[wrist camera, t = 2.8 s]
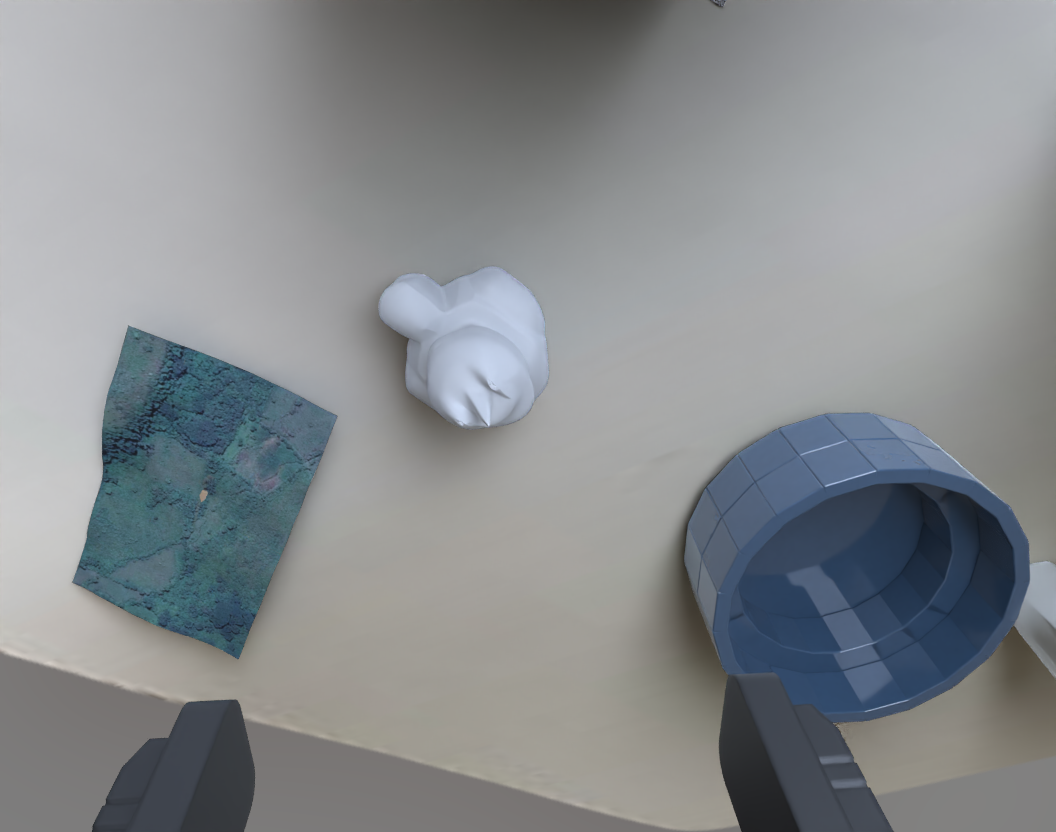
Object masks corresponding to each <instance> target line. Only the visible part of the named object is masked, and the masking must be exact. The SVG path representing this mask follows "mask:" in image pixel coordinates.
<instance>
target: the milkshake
mask: <svg viewBox="0 0 1056 832" xmlns="http://www.w3.org/2000/svg"><path fill="white" fill-rule="evenodd" d="M1014 627H1015V628H1016V629H1017V630H1018V632H1019V633H1020V634H1021V636H1022V637H1023V638H1024V639H1025V641H1026V642H1027V643H1028V644H1029V646H1030V647H1031V648H1032V650H1033V651H1034V652H1035V653H1036V655H1037V656H1038V657H1039V658H1040V660H1041V661H1042V662H1043V664H1044V665H1045V666H1046V667H1047V669H1048V670H1049V671H1050V672H1051V674H1052V675H1053V676H1054V678H1055V679H1056V564H1054V563H1051V562H1049V561H1042V562H1036V563H1030V584H1029V587H1028V590H1027V593H1026V596H1025V599H1024V601H1023V604H1022V607H1021V610H1020V613H1019V616H1018V619H1017V620H1016V623H1015V624H1014Z"/></svg>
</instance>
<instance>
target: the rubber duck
mask: <svg viewBox="0 0 1056 832" xmlns="http://www.w3.org/2000/svg"><path fill="white" fill-rule="evenodd" d="M379 315H380V318H381V320H382V321H383V322H384V323H385V324H386V325H388V326H389V327H391V328H392V329H393V330H395V331H397V332H398V333H400V334H401V335H403V336H405V337H407V338H409V342H408V346H407V362H406V370H405V381H406V387H407V390H408V391H409V392H410V393H411V394H412V395H413V396H415V397H416V398H418V399H419V400H421V401H422V402H424V403H425V404H427V405H428V406H430V407H431V408H433V409H434V410H436V411H437V412H438V413H439V414H440V415H441V416H442V417H443V418H444V419H446V420H447V421H448V422H450V423H452V424H454V425H456V426H458V427H461V428H464V429H471V430H474V429H482V428H490V427H498V426H504V425H508V424H511V423H514V422H516V421H518V420H520V419H521V418H523V417H524V416H525V415H526V414H527V413H528V412H529V411H530V409H531V407H532V405H533V402H534V400H535V399H536V398H537V397H538V396H539V395H540V394H541V393H542V391H543V390H544V389H545V387H546V385H547V383H548V378H549V365H548V352H547V343H546V337H545V320H544V316H543V312H542V310H541V307H540V305H539V303H538V301H537V300H536V298H535V296H534V295H533V294H532V292H531V291H530V290H529V289H528V288H527V287H526V286H525V285H523V284H522V283H521V282H519V281H518V280H517V279H515V278H514V277H513V276H511V275H510V274H509V273H508V272H506V271H505V270H503V269H501V268H499V267H495V266H490V267H485V268H482V269H480V270H478V271H476V272H474V273H472V274H470V275H464V276H461V277H459V278H457V279H455V280H453V281H451V282H449V283H448V284H446V285H444V286H440V285H439V284H438V283H436V282H435V281H434V280H433V279H431V278H429V277H428V276H426V275H423V274H418V273H410V274H405V275H402V276H400V277H398V278H397V279H396V280H395V281H394V282H393V284H391V285H390V286H388V287H387V288H386V289H385V290H384V291H383V293H382V295H381V297H380V301H379Z"/></svg>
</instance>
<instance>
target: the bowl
mask: <svg viewBox="0 0 1056 832" xmlns="http://www.w3.org/2000/svg"><path fill="white" fill-rule="evenodd" d="M684 561H685V562H684V563H685V567H686V570H687V573H688V577H689V580H690V584H691V587H692V591H693V594H694V596H695V599H696V602H697V604H698V607H699V609H700V612H701V614H702V617H703V620H704V622H705V625H706V627H707V630H708V632H709V635H710V638H711V640H712V643H713V645H714V648H715V650H716V653H717V656H718V658H719V661H720V663H721V666H722V668H723V669H724V671H725V672H726V673H727V674H728V675H733V674H752V673H771V672H774V673H776V674H777V675H778V676H779V678H780V679H781V681H782V683H783V685H784V687H785V689H786V691H787V693H788V696H789V698H790V700H791V702H792V704H793V705H801V704H813V705H814V706H815V707H816V708H817V709H818V710H819V711H820V712H821V713H822V714H823V715H824V716H825V717H826V718H828V719H829V720H830V721H831V722H832V723H839V722H862V721H870V720H873V719H877V718H881V717H884V716H888V715H892V714H896V713H899V712H903V711H907V710H910V709H912V708H914V707H916V706H918V705H920V704H922V703H924V702H926V701H928V700H930V699H932V698H934V697H936V696H938V695H940V694H942V693H944V692H946V691H948V690H950V689H952V688H953V686H956V685H957V684H958V683H959V682H961V681H962V680H963V679H964V678H965V677H967V676H968V675H969V674H970V673H972V672H973V671H974V670H975V669H976V668H978V667H979V666H980V665H981V664H982V663H984V662H985V661H986V660H987V659H988V658H989V657H990V656H991V655H992V654H993V653H994V651H995V650H996V648H997V647H998V646H999V644H1000V643H1001V642H1002V640H1003V639H1004V638H1005V636H1006V635H1007V634H1008V632H1009V631H1010V629H1011V628H1012V627H1013V625H1014V624H1015V623H1016V620H1017V619H1018V616H1019V613H1020V610H1021V607H1022V604H1023V601H1024V599H1025V596H1026V593H1027V590H1028V587H1029V584H1030V560H1029V543H1028V539H1027V537H1026V535H1025V534H1024V532H1023V530H1022V528H1021V526H1020V524H1019V522H1018V520H1017V518H1016V516H1015V514H1014V512H1013V511H1012V509H1011V507H1010V506H1009V505H1008V504H1007V503H1005V502H1004V501H1003V500H1002V499H1001V498H1000V497H998V496H997V495H996V494H995V493H994V492H993V491H991V490H990V489H989V488H988V487H987V486H986V485H985V484H983V483H982V482H981V481H980V480H979V479H978V478H976V477H975V476H974V475H973V474H972V473H971V472H969V471H968V470H967V469H966V468H965V467H964V466H962V465H961V464H960V463H959V462H958V461H957V460H955V459H954V458H953V457H952V456H951V455H950V454H948V453H947V452H946V451H945V450H944V449H943V448H941V447H940V446H939V445H938V444H936V443H935V442H934V441H932V440H931V439H930V438H928V437H927V436H926V435H925V434H923V433H922V432H921V431H919V430H918V429H917V428H915V427H914V426H911V425H910V424H907V423H903V422H900V421H896V420H893V419H890V418H886V417H883V416H879V415H876V414H871V413H839V414H824V415H820V416H816V417H813V418H810V419H807V420H803V421H800V422H797V423H794V424H790V425H787V426H784V427H781V428H779V429H777V430H775V431H773V432H771V433H770V434H768V435H767V436H765V437H763V438H762V439H760V440H759V441H757V442H755V443H754V444H752V445H750V446H749V447H747V448H746V449H744V450H742V451H741V452H739V453H738V455H735V456H734V458H733V459H732V460H731V461H730V462H729V463H728V464H727V465H726V466H725V467H724V468H723V469H722V471H721V472H720V473H719V474H718V475H717V476H716V477H715V478H714V479H713V480H712V481H711V482H710V483H709V485H708V486H707V487H706V488H705V490H704V492H703V494H702V496H701V498H700V500H699V502H698V504H697V506H696V508H695V511H694V513H693V515H692V517H691V519H690V521H689V523H688V528H687V537H686V547H685V556H684Z"/></svg>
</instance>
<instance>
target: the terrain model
mask: <svg viewBox="0 0 1056 832" xmlns="http://www.w3.org/2000/svg"><path fill="white" fill-rule="evenodd" d="M336 418H337V415H334V414H332V413H330V412H328V411H326V410H324V409H322V408H320V407H318V406H316V405H315V404H313V403H311V402H309V401H307V400H305V399H304V398H302V397H300V396H298V395H296V394H294V393H292V392H290V391H288V390H286V389H284V388H282V387H279V386H277V385H275V384H273V383H271V382H269V381H267V380H265V379H263V378H261V377H258V376H256V375H254V374H252V373H250V372H247V371H245V370H243V369H240V368H238V367H235V366H233V365H231V364H228V363H226V362H223V361H221V360H219V359H216V358H213V357H211V356H208V355H205V354H203V353H200V352H198V351H195V350H192V349H189V348H187V347H184V346H181V345H178V344H176V343H173V342H170V341H167V340H165V339H162V338H159V337H157V336H154V335H151V334H149V333H146V332H144V331H141V330H138V329H136V328H133V327H131V326H129V325H128V328H127V332H126V336H125V339H124V343H123V346H122V350H121V354H120V357H119V361H118V365H117V368H116V371H115V374H114V377H113V380H112V383H111V385H110V388H109V392H108V395H107V400H106V405H105V410H104V418H103V427H102V458H103V478H102V482H101V486H100V490H99V493H98V495H97V498H96V501H95V504H94V508H93V511H92V515H91V518H90V522H89V526H88V532H87V540H86V543H85V547H84V550H83V553H82V556H81V559H80V563H79V566H78V568H77V571H76V574H75V577H74V579H73V582H72V583H74V584H77V585H79V586H81V587H83V588H85V589H87V590H89V591H91V592H93V593H95V594H96V595H98V596H99V597H101V598H103V599H105V600H107V601H109V602H111V603H113V604H114V605H116V606H118V607H120V608H122V609H124V610H125V611H127V612H129V613H131V614H133V615H135V616H137V617H139V618H142V619H144V620H146V621H148V622H150V623H152V624H154V625H156V626H159V627H162V628H164V629H167V630H170V631H173V632H176V633H179V634H182V635H185V636H189V637H192V638H195V639H198V640H200V641H202V642H205V643H207V644H210V645H212V646H214V647H217V648H219V649H221V650H223V651H224V652H226V653H228V654H230V655H232V656H233V657H235V658H237V659H239V657H240V654H241V652H242V649H243V647H244V644H245V641H246V639H247V636H248V634H249V631H250V628H251V626H252V623H253V621H254V619H255V617H256V614H257V612H258V610H259V607H260V605H261V602H262V600H263V597H264V595H265V592H266V590H267V587H268V585H269V582H270V580H271V577H272V575H273V572H274V570H275V568H276V565H277V563H278V561H279V559H280V556H281V554H282V552H283V550H284V547H285V545H286V542H287V540H288V537H289V535H290V532H291V530H292V527H293V524H294V522H295V519H296V517H297V515H298V513H299V511H300V508H301V506H302V503H303V500H304V498H305V495H306V492H307V489H308V487H309V485H310V483H311V480H312V478H313V476H314V473H315V471H316V469H317V466H318V464H319V462H320V459H321V457H322V454H323V452H324V449H325V447H326V444H327V441H328V439H329V436H330V433H331V431H332V428H333V426H334V423H335V421H336Z"/></svg>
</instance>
